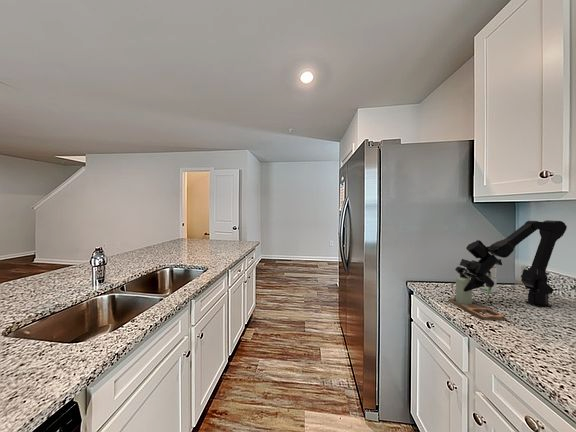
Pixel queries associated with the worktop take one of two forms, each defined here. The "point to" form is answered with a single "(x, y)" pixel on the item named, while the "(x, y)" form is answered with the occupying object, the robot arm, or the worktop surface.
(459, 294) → the sage peg
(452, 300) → the copper brown frame
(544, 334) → the worktop surface
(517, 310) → the worktop surface
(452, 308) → the worktop surface
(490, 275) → the syrup box
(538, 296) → the robot arm
